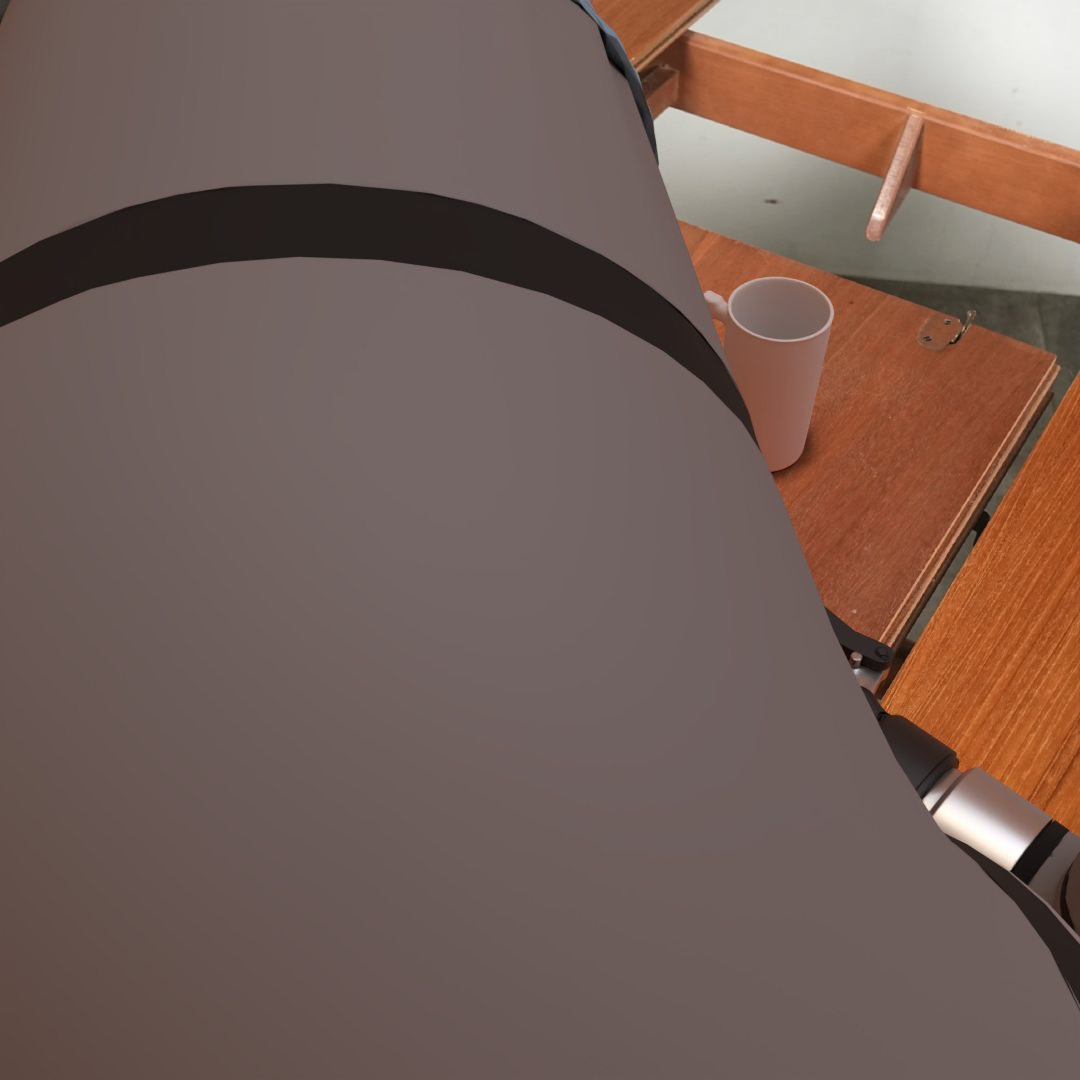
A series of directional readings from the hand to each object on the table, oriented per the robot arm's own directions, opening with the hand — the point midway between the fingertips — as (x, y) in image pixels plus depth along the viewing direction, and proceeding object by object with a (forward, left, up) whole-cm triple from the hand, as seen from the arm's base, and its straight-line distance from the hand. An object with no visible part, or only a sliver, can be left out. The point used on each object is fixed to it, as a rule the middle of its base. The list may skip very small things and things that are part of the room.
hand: (560, 565), depth 66 cm
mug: (+23, +7, -10) cm, 26 cm away
